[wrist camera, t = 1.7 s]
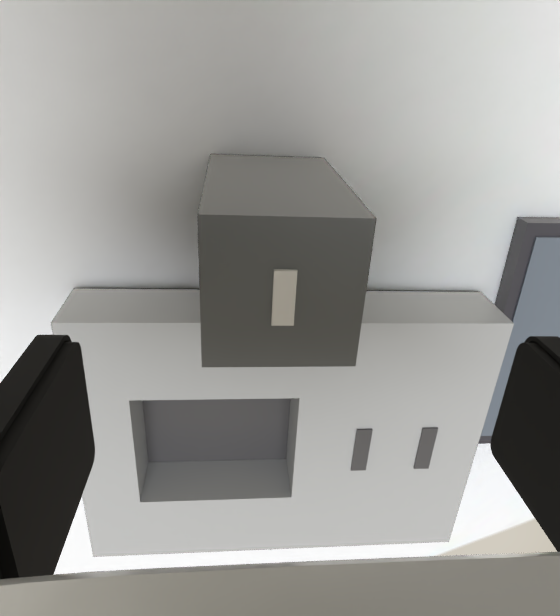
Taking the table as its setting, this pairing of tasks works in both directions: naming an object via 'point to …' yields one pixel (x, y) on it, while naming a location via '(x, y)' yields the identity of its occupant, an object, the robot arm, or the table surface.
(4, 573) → the robot arm
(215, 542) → the outlet plate
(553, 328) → the phone
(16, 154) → the table surface
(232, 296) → the block
